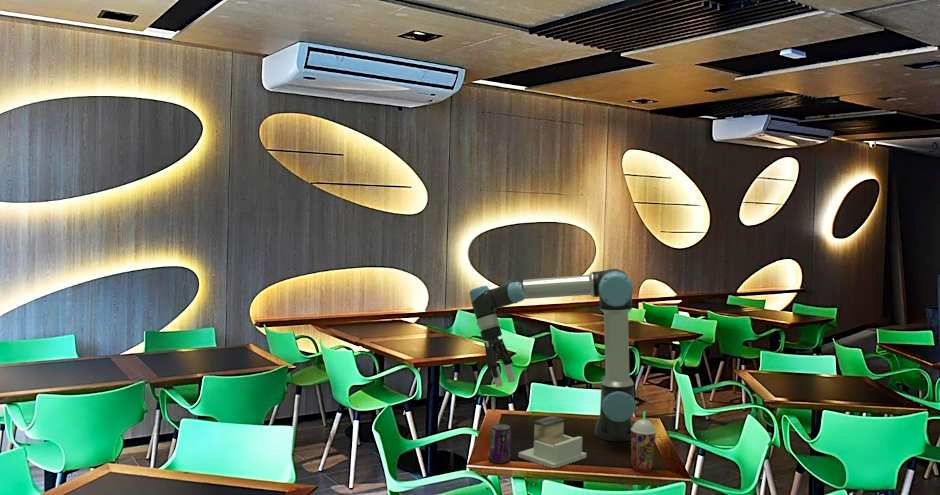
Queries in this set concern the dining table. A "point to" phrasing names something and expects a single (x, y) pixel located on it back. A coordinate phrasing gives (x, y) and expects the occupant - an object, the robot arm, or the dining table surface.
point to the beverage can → (500, 443)
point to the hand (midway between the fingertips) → (506, 384)
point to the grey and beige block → (549, 430)
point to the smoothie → (642, 444)
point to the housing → (555, 452)
